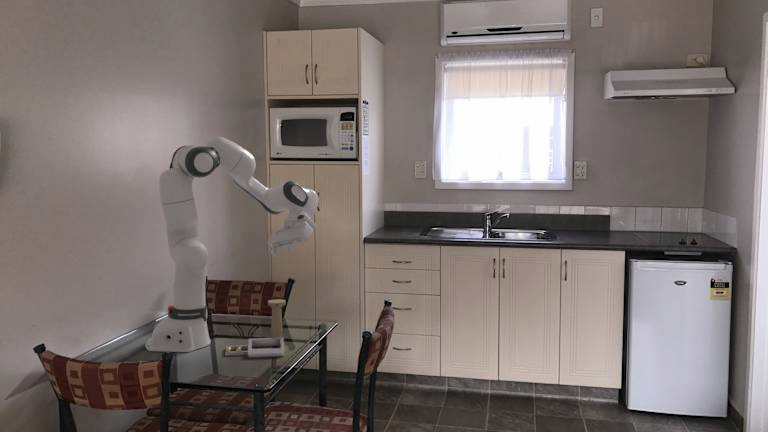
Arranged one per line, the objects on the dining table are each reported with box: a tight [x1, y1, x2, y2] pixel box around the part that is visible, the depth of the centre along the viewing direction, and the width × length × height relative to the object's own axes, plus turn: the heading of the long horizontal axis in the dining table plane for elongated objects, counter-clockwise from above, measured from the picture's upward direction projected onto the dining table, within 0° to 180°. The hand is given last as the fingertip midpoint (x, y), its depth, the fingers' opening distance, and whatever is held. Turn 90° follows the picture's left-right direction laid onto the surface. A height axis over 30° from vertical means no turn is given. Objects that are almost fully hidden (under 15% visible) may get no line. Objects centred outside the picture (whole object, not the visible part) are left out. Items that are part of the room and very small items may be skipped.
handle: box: [267, 299, 286, 338], centre depth 244 cm, size 5×6×15 cm
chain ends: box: [224, 337, 285, 359], centre depth 232 cm, size 20×12×3 cm, turn 101°
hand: (281, 252), depth 245 cm, fingers open, 8 cm apart
